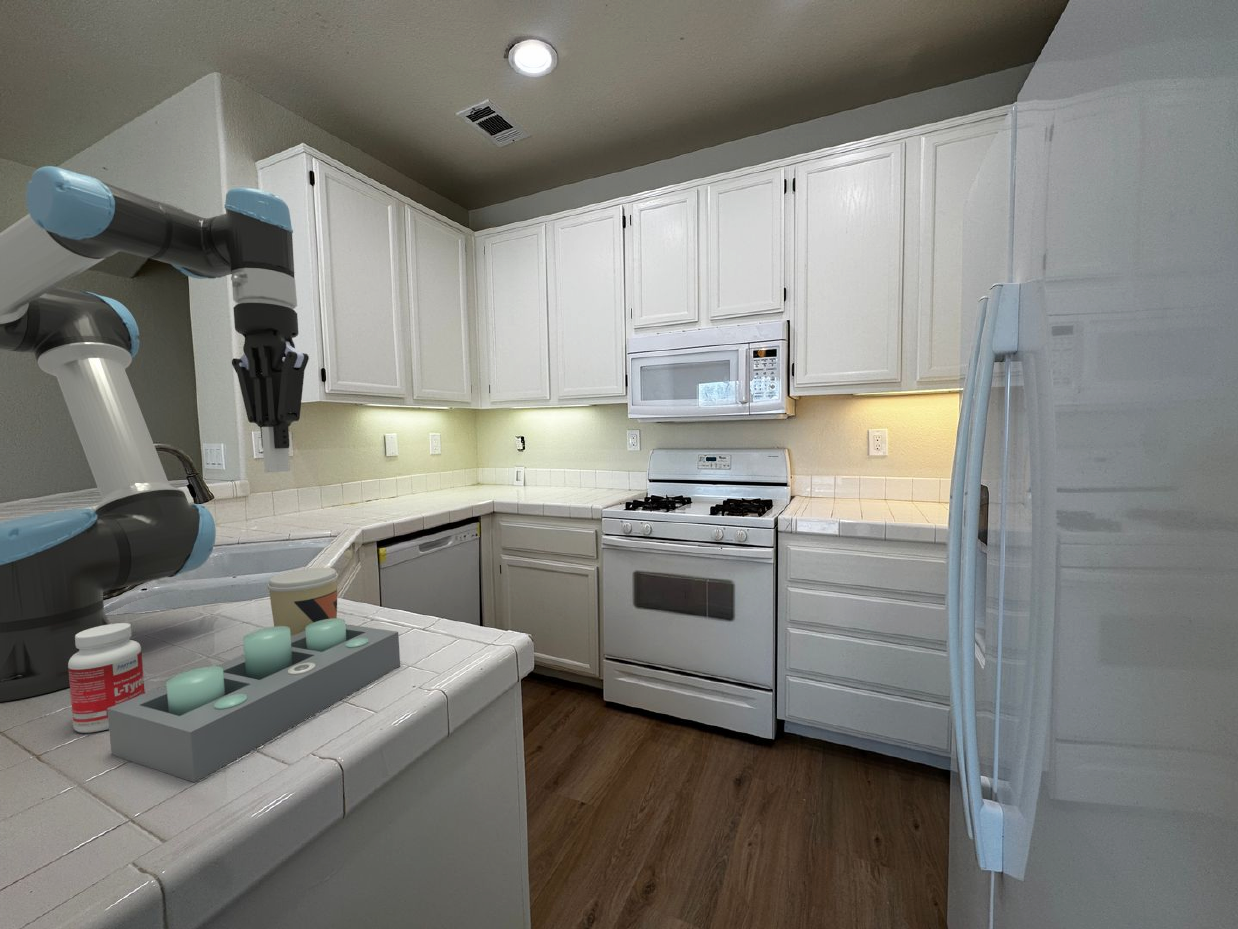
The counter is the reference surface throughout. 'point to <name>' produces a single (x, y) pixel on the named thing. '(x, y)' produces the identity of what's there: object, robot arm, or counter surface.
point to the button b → (267, 651)
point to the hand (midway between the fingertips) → (277, 471)
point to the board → (248, 705)
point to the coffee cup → (303, 597)
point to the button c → (325, 634)
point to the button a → (194, 689)
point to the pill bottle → (103, 674)
